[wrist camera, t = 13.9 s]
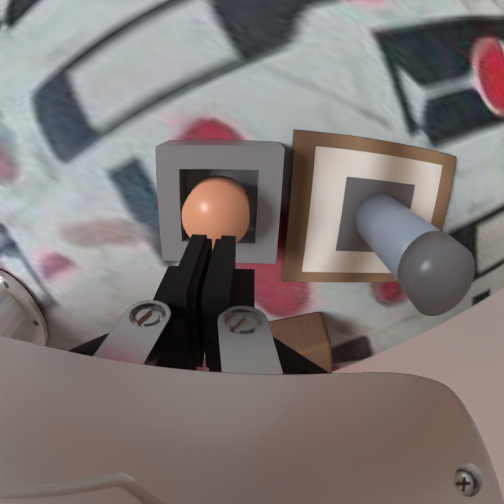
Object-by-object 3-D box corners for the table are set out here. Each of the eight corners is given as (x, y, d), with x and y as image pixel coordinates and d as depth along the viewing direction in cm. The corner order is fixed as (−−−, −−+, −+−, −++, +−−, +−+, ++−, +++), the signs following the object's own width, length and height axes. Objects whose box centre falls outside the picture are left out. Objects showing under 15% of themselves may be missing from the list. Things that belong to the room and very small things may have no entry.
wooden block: (320, 309, 28) (372, 494, 12) (324, 342, 30) (366, 509, 14) (227, 327, 29) (215, 515, 12) (238, 358, 31) (236, 527, 14)
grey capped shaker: (348, 240, 23) (402, 317, 14) (357, 188, 21) (428, 242, 12) (393, 244, 23) (458, 314, 14) (404, 195, 22) (484, 248, 13)
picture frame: (281, 275, 26) (282, 282, 25) (293, 129, 21) (296, 130, 20) (421, 276, 26) (426, 282, 25) (450, 154, 21) (457, 157, 20)
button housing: (172, 239, 24) (162, 260, 21) (168, 140, 21) (155, 146, 18) (272, 242, 25) (275, 263, 21) (278, 141, 21) (284, 147, 18)
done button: (189, 232, 21) (183, 247, 19) (188, 175, 19) (180, 184, 17) (248, 233, 21) (248, 249, 19) (250, 176, 19) (250, 185, 17)
